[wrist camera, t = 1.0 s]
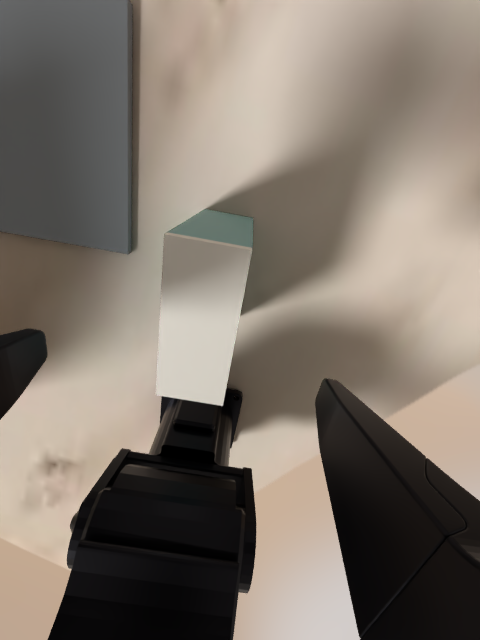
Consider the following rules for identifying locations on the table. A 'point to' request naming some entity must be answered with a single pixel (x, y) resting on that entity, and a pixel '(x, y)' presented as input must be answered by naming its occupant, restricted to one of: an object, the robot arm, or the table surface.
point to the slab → (201, 304)
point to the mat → (67, 121)
